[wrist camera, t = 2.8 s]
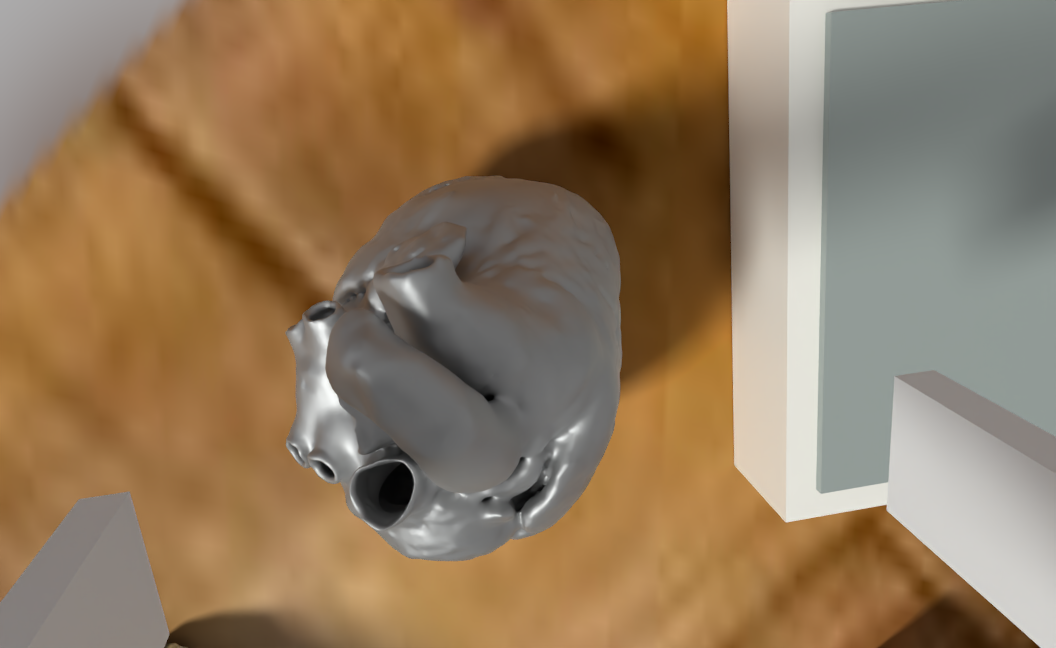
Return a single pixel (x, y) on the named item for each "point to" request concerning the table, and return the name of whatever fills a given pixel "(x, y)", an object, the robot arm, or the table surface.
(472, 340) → the heart
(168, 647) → the statue
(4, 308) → the table surface
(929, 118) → the plinth
